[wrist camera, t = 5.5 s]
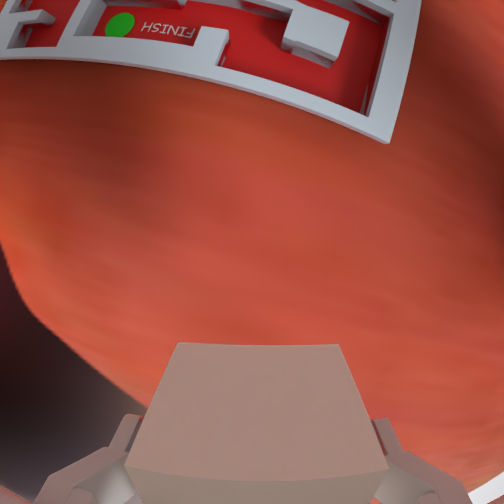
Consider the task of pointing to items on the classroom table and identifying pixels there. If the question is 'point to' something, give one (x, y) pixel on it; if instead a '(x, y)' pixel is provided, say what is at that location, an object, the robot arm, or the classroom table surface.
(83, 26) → the maze game
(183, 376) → the cream cube
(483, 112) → the classroom table surface
